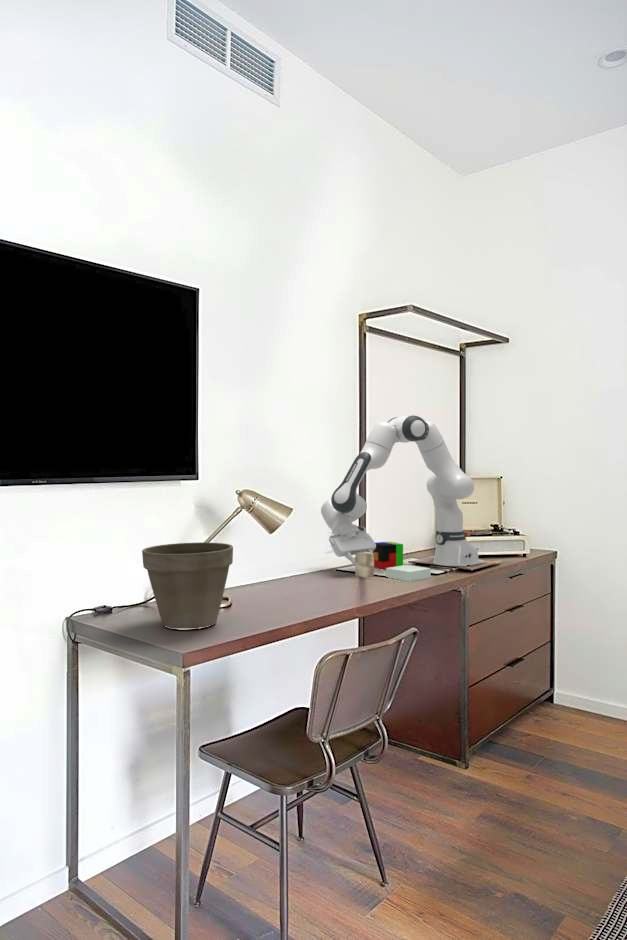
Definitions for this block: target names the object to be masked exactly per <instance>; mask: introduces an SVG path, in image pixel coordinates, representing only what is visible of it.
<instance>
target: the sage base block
mask: <svg viewBox="0 0 627 940" xmlns="http://www.w3.org/2000/svg"><path fill="white" fill-rule="evenodd" d="M431 572H432V570H431V568H430V567H424V566H423V567H422V566H416V565H409V564H403V565H402V566H396V567H390V568H386V570H385V577H388V578H387V579H392V578H393V579H392V580H397V579H399V580H398V581H402V582H403V581H404V582H410V583H411V582H416V581H422V580H426V579H431V578H432V577H431V576H432V575H431Z"/></svg>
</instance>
